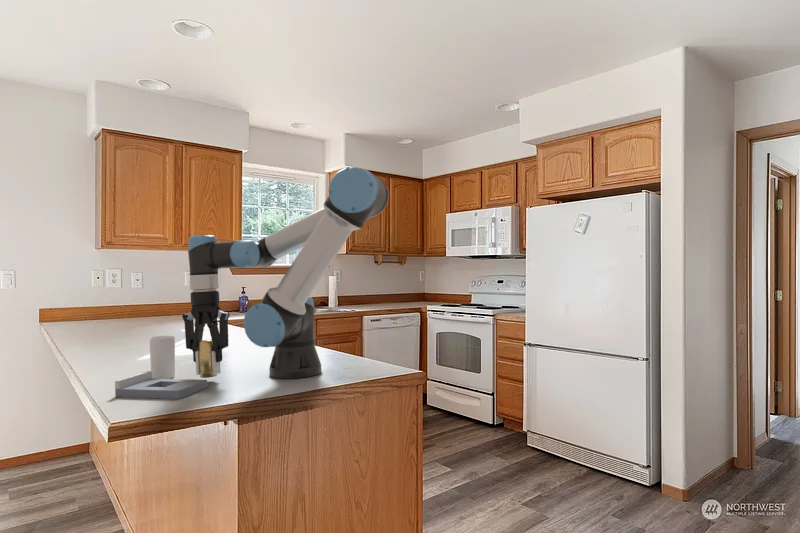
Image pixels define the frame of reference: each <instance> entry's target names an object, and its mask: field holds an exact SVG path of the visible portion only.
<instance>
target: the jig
mask: <svg viewBox="0 0 800 533" xmlns="http://www.w3.org/2000/svg"><path fill="white" fill-rule="evenodd" d="M114 388H115V397H116V398H136V399H137V398H142V399H144V398H145V399H169V400H171V399H172V400H173V399H174V400H180V399H182V398H184V397H187V396H189V395H190V396H191V395H192V394H194V392H195V393H196V392H199V391H202V390H204V389H206V388H208V380H207V379H192V378H189V379H187V378H170V379H156V378H152V371H151V370H147V371H143V372H141V373H136V374H134V375H130V376H127V377H124V378H121V379H117V380H115V381H114Z"/></svg>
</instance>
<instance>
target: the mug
mask: <svg viewBox="0 0 800 533" xmlns="http://www.w3.org/2000/svg"><path fill="white" fill-rule="evenodd" d="M175 340H176V338H175V335H157V336H152V337H151V336H150V337H149V357H150V371H152V378H156V379H174V378H175V377H176V371H175V370H176V360H175V359H176V353H175V352H176V350H175V349H176V348H175V347H176V341H175Z"/></svg>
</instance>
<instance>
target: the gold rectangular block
mask: <svg viewBox="0 0 800 533" xmlns="http://www.w3.org/2000/svg"><path fill="white" fill-rule="evenodd" d="M213 349H214V346H213V342H212V338H210V339H202V340H200V341H199V361H200V375H199V378H200V379H203V378H204V379H207V378H208V379H209V378H215V377H217V376H218V374H216V375H213V370H212V351H213Z"/></svg>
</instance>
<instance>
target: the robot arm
mask: <svg viewBox="0 0 800 533" xmlns="http://www.w3.org/2000/svg"><path fill="white" fill-rule="evenodd" d="M389 198H390V192H389V188H388V186H387V185H386V183H385V182H384V181H383V179H381V178H380V177H379V176H377V175H374V174H373V173H372V172H371V171H370V170H366V168H362V167H357V166H351V167H350V166H348V167H345V168H343V169H341V170H338V172H336V173H335V174H334V175H333V176H332V178H331V181H330V182H329V186H328V196H327V198H326V200H324V203H323V207H322V208H320V209H318V210H316V211H314V212H313V213H310V214H308V215H306V216H305V217H302V218H300V219H298V220H297V221H294V222H293V223H290V224H288V225H286V226H284V227H283V228H280V229H279V230H276V231H274V232H272V233H271V234H269V235H267V236H265V237H263V238H261V239H258V240H257V241H254V240H252V239H251V240H250V239H238V240H228V241H218V240H217V239H218V238H217V236H216V235H212V234H208V235H206V234H204V235H203V234H201V235H200V234H199V235H192V236H190V237H188V238H189V239H188V250H187V253H188V262H189V264H188V266H189V290H190V291H192V292H190V305H191V309H190V311H189V312H188V313H183V314H182V315H181V317H182V320H183V323H184V336H185V337H184V338H185V348H186V350H191V351H192V355H193V356H192V358H193V359H192V360H193V363H195V370H196V372H195V373H196V374H195V375H197V376H200V361H199V341H200V340H203V337H204V336H203V335H204V330H205V327H206V326H207V328H208V330H209V334H210V337H211V338H210V339H212V342H213V346H214V349H213V351H212V370H213V375H216V374H217V375H218V374H220V373H221V372H222V371H221V362H222V361H223V350H224V349H225V348H228V347H229V318H230V315H231V313H230V312H228V311H227V312H226V311H224V310H223V311H222V310H221V308H220V292H219V290H217V289H220V288H219V287H220V286H219V269H220V270H221V269H237V268H238V269H245V268H246V269H249V268H257V269H258V268H259V269H264V268H268V267H271V266H273V264H274V263H276V261H277V260H278V259H279V260H280V259H282V258H283V257H286V256H287V255H290V254H291V253H293V252H295V251H297V250H300V251H299V253H298V254H297V255H296V257H295V258H294V260H293V261H292V263H291V265H290V266H289V267H288V270H286V272H285V274H284V276H283V277H282V279H281V281H280V282H279V283H278V285H277V286H276V287H271V288H268V290H267V291H266V293H265V294H264V296H263V297H262V299H261V301H259V303H256V304H254V305H253V306H251V307H249V309H248V310H247V311H246V312H245V315H244V318H243V328H244V331H245V332H244V333H245V335H246V336H247V338H248V339H249V341H250V342H251V343H253V344H254V345H256V346H258V347H260V348H273V347H274V350H273V354H272V358H271V361H270V364H269V372H268V373H269V376H270V377H272V378H275V379H302V378H308V377H314V376H317V375H319V374H321V373H322V364H321V363H322V362H321V360H320V358H319V355H318V352H317V349H316V344H315V343H316V340H315V338H316V335H315V310H316V309H315V305H314V304H315V303H314V299H313V297H312V296H311V294H312V293H313V292H314V291H315V289H316V287H317V286H318V285H319V283H320V281H321V279H322V278H323V276H324V275H325V274H326V272H327V271H328V269H329V267H330V266H331V264H332V263H333V262H334V260H335V258H336V257H337V255H338V254H339V252H340V251H341V249H342V247H344V245H345V243H346V242H347V240H348V239H349V237H350V236H351V234H352V232H354V231H357V230H361V229H362V228H363V226H364V225H365V223H366V222H367V221H368V220H371V219H372V218H375V217H377V216H379V215H381V213H383V212H384V211H385V209H386V207H387V206H388V204H389ZM218 319H219V322H218Z"/></svg>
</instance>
